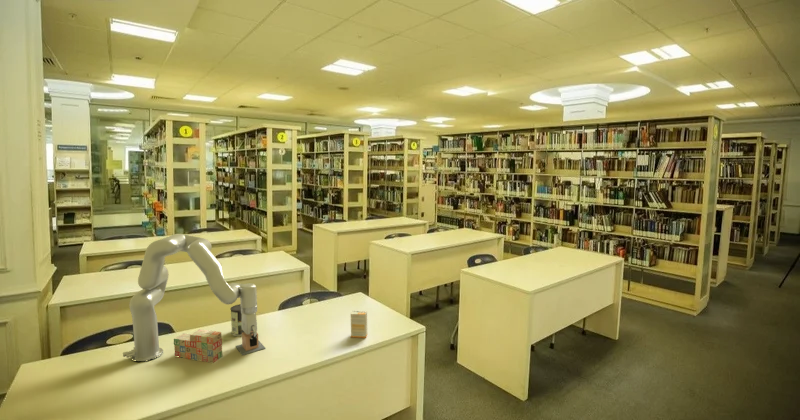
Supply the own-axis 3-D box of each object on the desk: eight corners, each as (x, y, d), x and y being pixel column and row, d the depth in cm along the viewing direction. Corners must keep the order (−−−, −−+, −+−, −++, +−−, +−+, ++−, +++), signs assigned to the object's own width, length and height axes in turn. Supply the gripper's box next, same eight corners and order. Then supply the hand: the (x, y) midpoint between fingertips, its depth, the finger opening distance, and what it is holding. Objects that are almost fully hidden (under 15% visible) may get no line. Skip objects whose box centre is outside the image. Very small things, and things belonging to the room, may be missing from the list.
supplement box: (367, 334, 205) (367, 310, 204) (365, 338, 201) (365, 314, 199) (352, 333, 206) (352, 310, 205) (350, 337, 201) (350, 313, 200)
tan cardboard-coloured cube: (246, 350, 185) (245, 337, 184) (242, 346, 189) (241, 332, 189) (258, 347, 189) (258, 333, 188) (254, 342, 193) (254, 329, 192)
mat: (242, 355, 181) (242, 354, 181) (235, 346, 190) (235, 345, 190) (265, 348, 188) (265, 347, 188) (258, 340, 197) (258, 339, 197)
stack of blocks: (174, 357, 179) (173, 332, 178) (184, 351, 185) (183, 327, 184) (213, 363, 174) (212, 337, 173) (222, 356, 181) (221, 331, 179)
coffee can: (255, 328, 212) (254, 303, 210) (247, 336, 202) (246, 310, 200) (236, 327, 212) (235, 303, 211) (228, 336, 202) (226, 310, 200)
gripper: (236, 305, 191) (237, 338, 193) (246, 316, 178) (248, 351, 180) (251, 302, 196) (252, 334, 198) (262, 312, 182) (263, 346, 184)
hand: (250, 342), depth 189 cm, fingers open, 9 cm apart
